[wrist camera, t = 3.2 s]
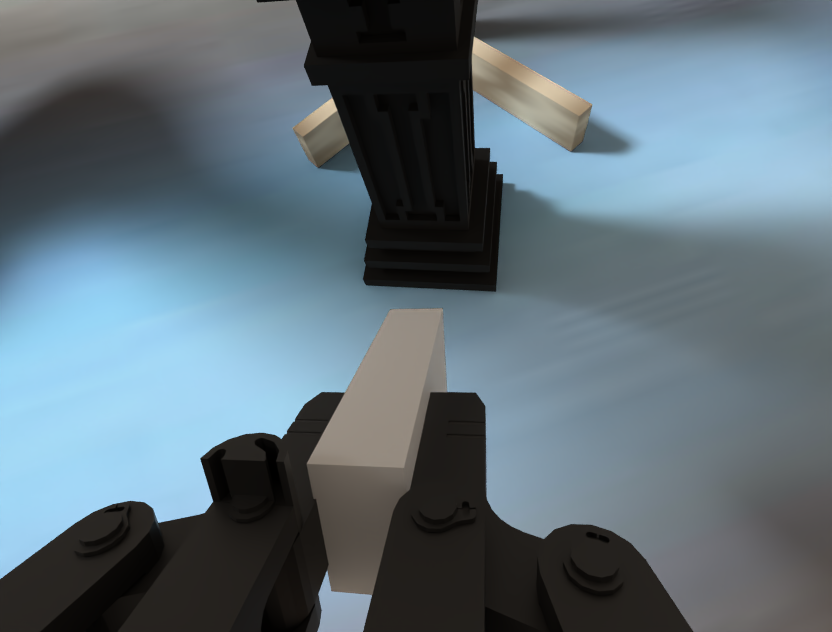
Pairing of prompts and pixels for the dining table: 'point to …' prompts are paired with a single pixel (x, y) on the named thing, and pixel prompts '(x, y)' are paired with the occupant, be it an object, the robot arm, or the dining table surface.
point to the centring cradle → (492, 79)
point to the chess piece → (412, 136)
